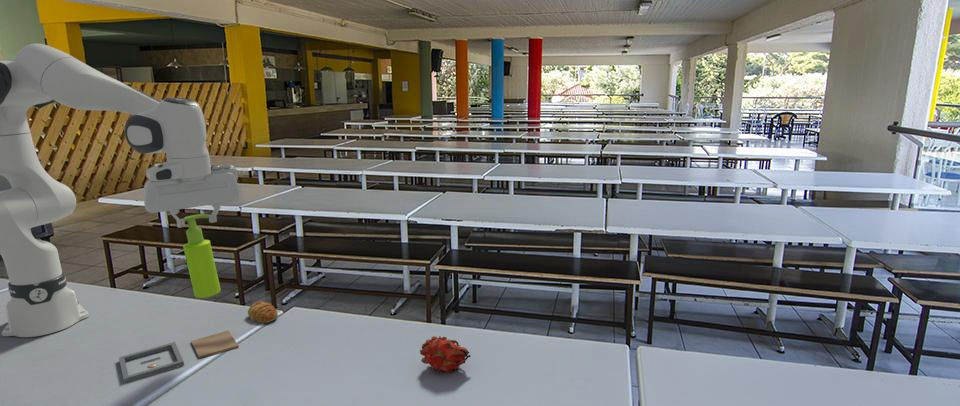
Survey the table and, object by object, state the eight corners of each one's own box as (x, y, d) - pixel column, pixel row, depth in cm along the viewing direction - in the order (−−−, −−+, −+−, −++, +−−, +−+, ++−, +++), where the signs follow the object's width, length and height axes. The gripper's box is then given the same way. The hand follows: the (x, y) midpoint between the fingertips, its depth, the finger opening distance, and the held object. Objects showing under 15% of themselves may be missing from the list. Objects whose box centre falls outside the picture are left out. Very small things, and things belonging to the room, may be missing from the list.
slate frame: (119, 361, 128) (118, 357, 128) (175, 345, 136) (174, 341, 135) (124, 382, 119) (123, 379, 119) (184, 365, 126) (183, 361, 126)
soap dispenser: (224, 293, 131) (207, 216, 126) (193, 300, 128) (174, 221, 123) (226, 285, 136) (209, 210, 131) (196, 291, 134) (178, 215, 129)
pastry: (284, 318, 151) (283, 306, 150) (262, 327, 146) (260, 314, 145) (267, 309, 156) (265, 297, 156) (245, 317, 151) (243, 305, 150)
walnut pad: (191, 342, 137) (191, 341, 137) (228, 332, 142) (228, 330, 142) (199, 358, 129) (199, 356, 129) (238, 346, 135) (238, 345, 134)
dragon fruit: (417, 370, 126) (466, 380, 125) (412, 367, 118) (464, 378, 117) (425, 334, 129) (473, 344, 128) (421, 329, 122) (472, 339, 120)
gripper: (233, 161, 133) (239, 214, 137) (138, 171, 121) (147, 228, 124) (240, 165, 129) (246, 219, 132) (141, 175, 116) (151, 235, 120)
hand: (197, 224), depth 128 cm, fingers closed on soap dispenser, 5 cm apart
